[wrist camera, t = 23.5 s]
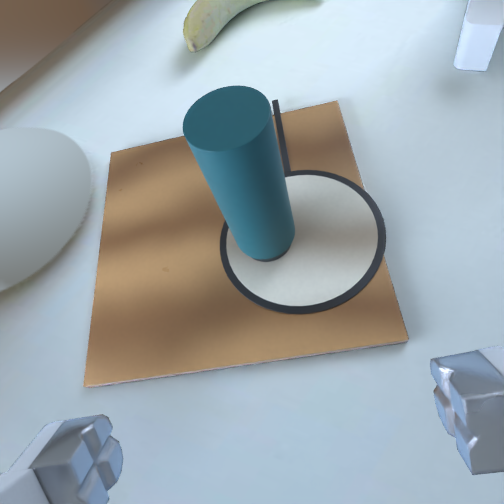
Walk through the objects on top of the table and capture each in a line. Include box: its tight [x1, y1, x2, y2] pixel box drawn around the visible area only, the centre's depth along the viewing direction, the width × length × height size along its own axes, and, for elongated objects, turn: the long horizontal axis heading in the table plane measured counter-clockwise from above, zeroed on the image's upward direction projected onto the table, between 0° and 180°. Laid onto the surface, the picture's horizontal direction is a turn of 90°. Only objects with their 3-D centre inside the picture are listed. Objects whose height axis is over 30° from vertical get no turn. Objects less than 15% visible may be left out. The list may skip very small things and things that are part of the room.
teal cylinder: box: [183, 86, 295, 262], centre depth 22 cm, size 4×4×11 cm
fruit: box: [183, 0, 267, 52], centre depth 39 cm, size 7×15×3 cm, turn 115°
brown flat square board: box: [83, 99, 409, 388], centre depth 28 cm, size 22×21×1 cm
